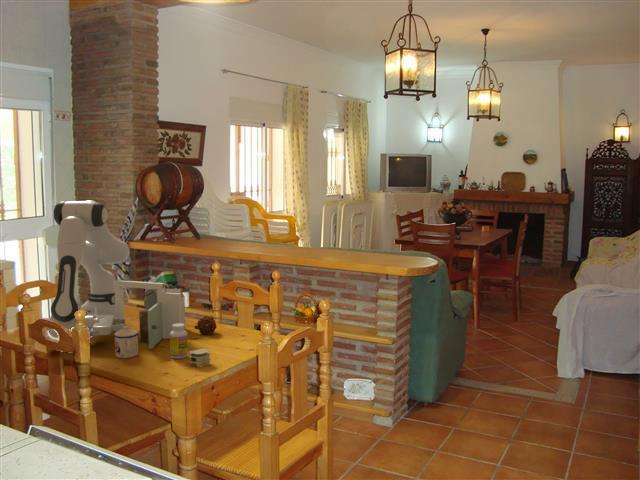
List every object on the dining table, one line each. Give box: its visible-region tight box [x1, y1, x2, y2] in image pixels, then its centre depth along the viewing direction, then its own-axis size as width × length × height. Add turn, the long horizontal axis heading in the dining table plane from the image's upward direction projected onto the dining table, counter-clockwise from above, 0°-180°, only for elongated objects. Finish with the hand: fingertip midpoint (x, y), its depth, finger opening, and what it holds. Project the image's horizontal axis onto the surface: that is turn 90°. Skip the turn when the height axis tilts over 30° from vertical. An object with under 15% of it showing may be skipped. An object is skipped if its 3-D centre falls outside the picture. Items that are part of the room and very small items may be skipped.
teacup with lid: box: [113, 325, 139, 359], centre depth 243 cm, size 12×9×12 cm
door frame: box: [114, 279, 182, 340], centre depth 270 cm, size 31×2×24 cm, turn 74°
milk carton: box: [166, 288, 186, 326], centre depth 281 cm, size 7×7×19 cm
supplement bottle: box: [169, 323, 189, 360], centre depth 243 cm, size 7×7×13 cm
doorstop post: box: [138, 309, 149, 344], centre depth 264 cm, size 5×5×13 cm
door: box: [148, 302, 163, 350], centre depth 259 cm, size 16×3×16 cm, turn 179°
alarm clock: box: [143, 287, 167, 310], centre depth 304 cm, size 12×7×15 cm, turn 110°
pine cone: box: [194, 315, 218, 336], centre depth 276 cm, size 8×8×12 cm
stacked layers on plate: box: [188, 348, 211, 368], centre depth 234 cm, size 10×9×6 cm
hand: (124, 323), depth 261 cm, fingers open, 8 cm apart
